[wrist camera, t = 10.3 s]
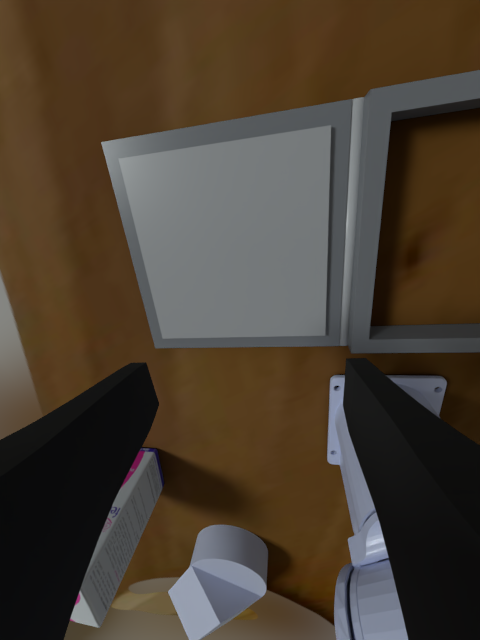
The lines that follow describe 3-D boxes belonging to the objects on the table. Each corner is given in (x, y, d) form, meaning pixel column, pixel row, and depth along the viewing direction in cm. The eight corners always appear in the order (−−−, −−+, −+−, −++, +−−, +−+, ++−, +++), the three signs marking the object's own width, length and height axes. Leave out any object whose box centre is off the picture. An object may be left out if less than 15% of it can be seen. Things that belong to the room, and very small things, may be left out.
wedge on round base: (236, 585, 37) (281, 545, 32) (226, 660, 31) (280, 627, 26) (177, 559, 37) (213, 514, 31) (156, 630, 31) (196, 590, 25)
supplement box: (157, 446, 28) (81, 592, 17) (165, 483, 30) (103, 631, 20) (106, 440, 29) (5, 575, 18) (118, 477, 31) (35, 615, 21)
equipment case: (588, 335, 17) (624, 351, 15) (160, 342, 22) (149, 354, 20) (725, 41, 11) (809, 11, 10) (111, 145, 17) (90, 138, 15)
